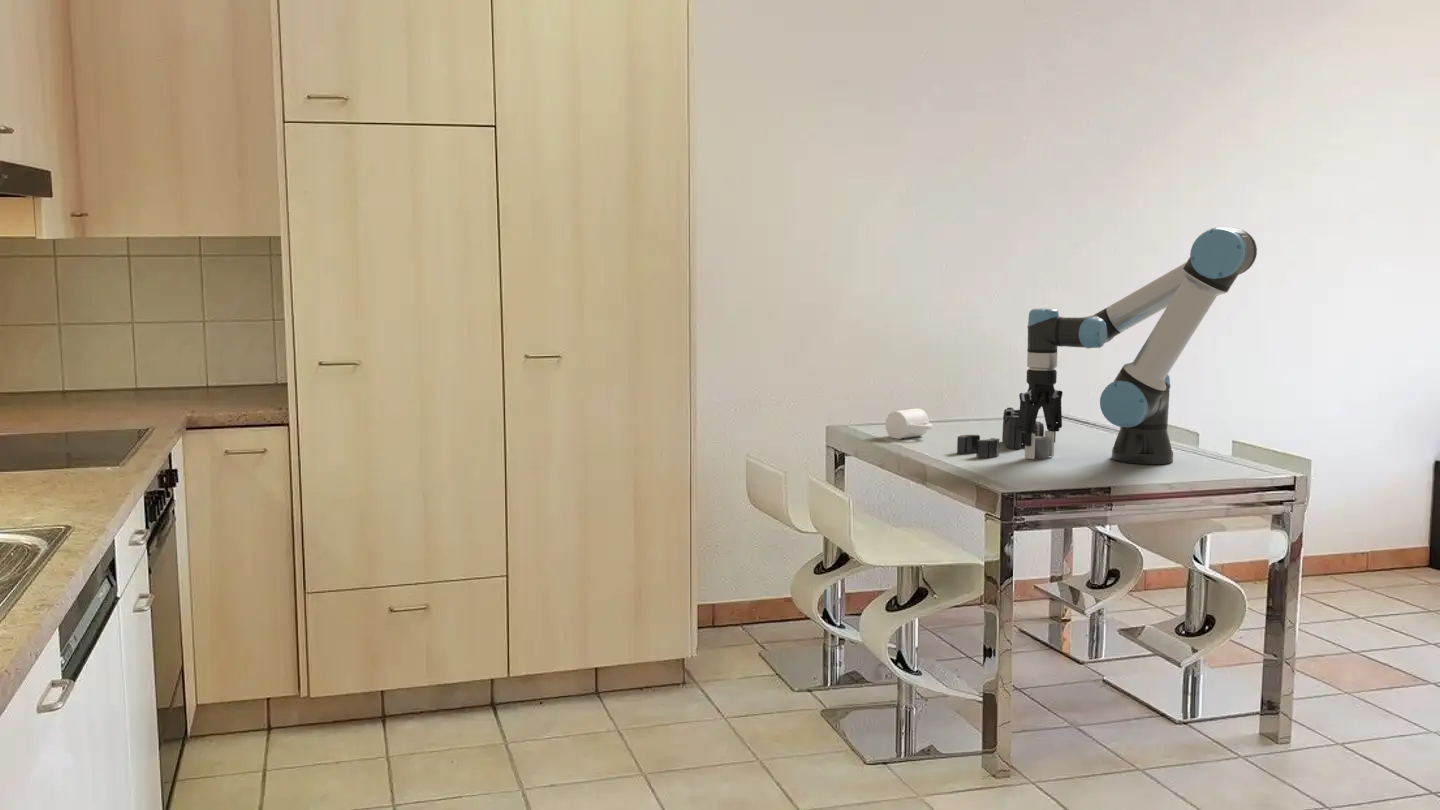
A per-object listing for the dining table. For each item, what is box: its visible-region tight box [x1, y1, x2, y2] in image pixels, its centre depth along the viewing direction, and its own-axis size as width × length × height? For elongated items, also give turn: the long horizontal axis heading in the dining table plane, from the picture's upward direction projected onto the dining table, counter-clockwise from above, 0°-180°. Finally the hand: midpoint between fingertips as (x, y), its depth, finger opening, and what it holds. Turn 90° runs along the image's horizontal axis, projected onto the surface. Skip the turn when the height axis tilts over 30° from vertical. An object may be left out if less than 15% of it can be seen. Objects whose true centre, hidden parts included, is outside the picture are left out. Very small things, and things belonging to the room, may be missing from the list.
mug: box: [884, 408, 933, 440], centre depth 375 cm, size 12×10×8 cm
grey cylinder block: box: [1034, 436, 1050, 461], centre depth 344 cm, size 5×5×5 cm
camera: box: [1001, 406, 1045, 451], centre depth 364 cm, size 14×11×10 cm
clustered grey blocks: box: [956, 434, 1000, 459], centre depth 349 cm, size 11×7×4 cm
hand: (1039, 457), depth 344 cm, fingers open, 6 cm apart
